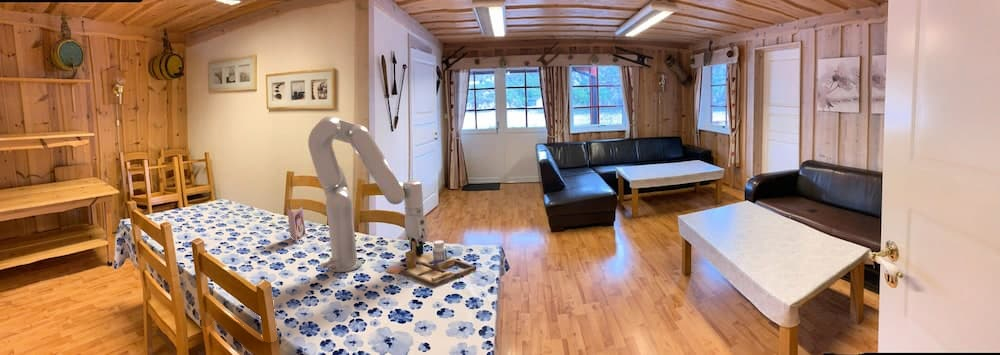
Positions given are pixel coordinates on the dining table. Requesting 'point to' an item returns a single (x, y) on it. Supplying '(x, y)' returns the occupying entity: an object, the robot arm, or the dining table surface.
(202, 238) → the dining table surface
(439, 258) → the pill bottle
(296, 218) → the greeting card
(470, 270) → the lane rails
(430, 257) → the slat bottle lane
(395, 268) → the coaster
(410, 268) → the tan wooden block
